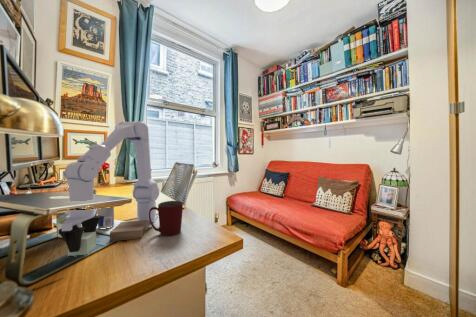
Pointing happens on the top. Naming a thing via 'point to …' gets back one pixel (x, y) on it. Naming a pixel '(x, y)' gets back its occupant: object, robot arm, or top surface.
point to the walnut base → (129, 230)
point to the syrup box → (62, 221)
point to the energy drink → (106, 217)
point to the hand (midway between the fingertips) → (82, 245)
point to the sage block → (86, 243)
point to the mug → (169, 217)
